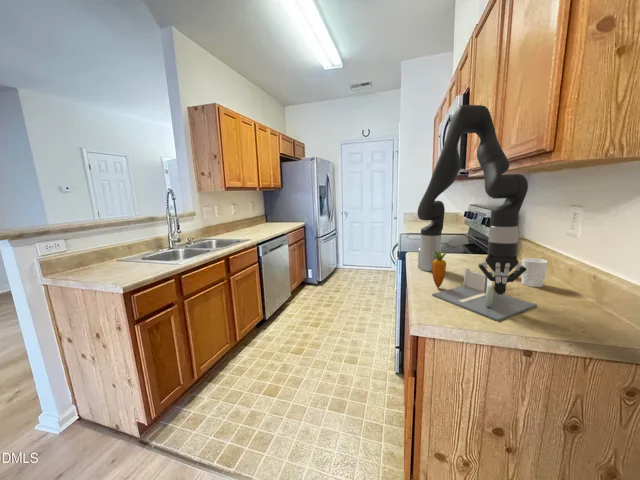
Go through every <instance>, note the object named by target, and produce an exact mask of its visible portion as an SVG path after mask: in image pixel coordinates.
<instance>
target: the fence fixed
mask: <svg viewBox="0 0 640 480" xmlns="http://www.w3.org/2000/svg"><path fill="white" fill-rule="evenodd" d="M463 272H464V274H463V275H464V276H463V285H462V286H464V287H471V288H474V289H477V290H481V291H484V292H485V291H486V289H487V276H486V275H485V274H484V273H482V272H481V273H480V272H476V271H474V270H473V271H472V270H471V269H470V268H467V267H466V268H464V271H463ZM488 272H489V273H490V274H491V276H493V275H492V272H491V271H488ZM485 293H486V292H485Z"/></svg>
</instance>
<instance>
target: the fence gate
mask: <svg viewBox="0 0 640 480" xmlns="http://www.w3.org/2000/svg"><path fill="white" fill-rule="evenodd" d="M493 291H495V290H494V286H493V281H490V280H489V279H488V278H487V289H486V304H485V306H487V307H492V302H493Z"/></svg>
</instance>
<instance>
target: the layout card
mask: <svg viewBox="0 0 640 480" xmlns="http://www.w3.org/2000/svg"><path fill="white" fill-rule="evenodd" d="M485 292H486V291H485ZM485 292H484V291H481V290H477V289H474V288H471V287H464V286H463V285H460V286H456V287H454V288H448V289H446V290H443V291H438V292H434V293H432V294H431V295H432V297H435V298H437V299H439V300H442V301H445V302H448V303H450V304H452V305H455V306H458V307H460V308H463V309H466V310H468V311H470V312H472V313H475V314H478V315H480V316H483V317H486V318H488V319H491V320H493V321H495V322H500V321H502V320H503V321H504V320H505V319H507V318H510V317H512V316H515V315H518V314H520V313H523V312H526V311H528V310H531V309H533V308H536V307H537V306H538V304H536V303H533V302H530V301H526V300H522V299H521V298H516V297H513V296H510V295H506V294H505V293H503V295H500V294H497V293H496V292H495V290H493V302H492V307H487V306H485V304H486V293H485Z"/></svg>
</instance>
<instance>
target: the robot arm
mask: <svg viewBox="0 0 640 480" xmlns="http://www.w3.org/2000/svg"><path fill="white" fill-rule="evenodd" d="M462 134H476V135H477V137H478V138H479V141H480V142H479V144H478V147H477V150H476V158H477V161H478V163H479V165H480V167H481V170H482V171H483V177H484V178H483V179H484V190H485V193H486V195H487V196H488V197H490V198H492V199H495V200H497V199H505V200H504V202H503V204H501V205H498V206H495V207H493V208H492V209H491V211H490V223H489V225H490V226H489V230H488V239H487V240H488V242H487V243H488V244H487V256H486V257H485V261H483V262H482V263H478V265H477V266H478V269H480V270H481V271H482V272H481V273H482V274H485V275H486V276H487V278H488V279H489V280H490V281H492V282H493V283H494V290H493V291H494V292H496V293H497V294H500V295H503V294H506V290H507V289H506V288H507V284H508V283H513V282H514V281H516V280H517V279H518V278H519V277H521V274H522V273H524V272H525V271H526V268H525V267H524V266H522V264H521V263H520V262H519V260H518V258H517V257H518V246H519V244H518V243H519V216H520V215H519V214H520V211H521V208H522V206H523V203H524V200H525V198H526V196H527V193H528V189H529V182H528V179H527V178H526V177H525V175H523V174H519V173H514V174H513V173H511V174H505V173H506V172H507V171H508V170H509V168H510V161H509V160H508V157H507V156H506V154H505V153H504V151H503V148H502V147H501V145H500V142H499V140H498V137H497V134H496V129H495V125H494V122H493V118H492V116H491V112H490V110H489V109H488V107H487V106H485V105H481V104H479V105H478V104H468V105H467V104H461V105H459V106H458V107H457V108H455V111H454V113H453V114H452V117H451V120H450V123H449V127H448V130H447V133H446V137H445V141H444V143H443V147H442V149H441V152H440V155H439V156H438V159H437V162H436V165H435V167H434V169H433V173H432V176H431V178H430V181H429V184H428V186H427V188H426V190H425V193H424V194H423V196H422V198H421V201H420V202H419V205H418V209H417V217H418V219H419V220H421V221H427V222H428V221H431V222H430V223H429V224H427V225H426V226H424V227H422V228H421V229H420V241H419V242H420V245H419V246H420V248H418V255H417V259H418V260H417V268H418V269H419V270H422V271H424V272H425V271H426V272H432V262H433V261H434V260H435V259H437V258H436V257H435V256H437V255H436V254H435V250H437V252H438V254H439V252H441V250H442V234H443V233H442V231H443V230H444V222H445V221H444V219H445V211H446V209H445V204H444V203H443V202H442V200H436V199H438V197H439V196H440V195H441V194H442V193H443V192H445V191H446V190H447V189H448V188H449V187H451V185H452V184H454V182H455V181H456V179H457V177H458V174H459V172H460V171H461V168H462V167H461V166H462V161H461V157H460V153H459V148H458V147H459V141H460V139H461V137H462ZM441 253H442V252H441ZM488 267H489V268H490V270H491V269H492V270H493V271H494V275H492V276H491V274H490V273H489V272H490V271H488ZM513 269H514V271H513ZM511 271H512V272H511ZM500 272H501V276H500ZM510 272H511V273H510ZM509 273H510V274H509Z"/></svg>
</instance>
